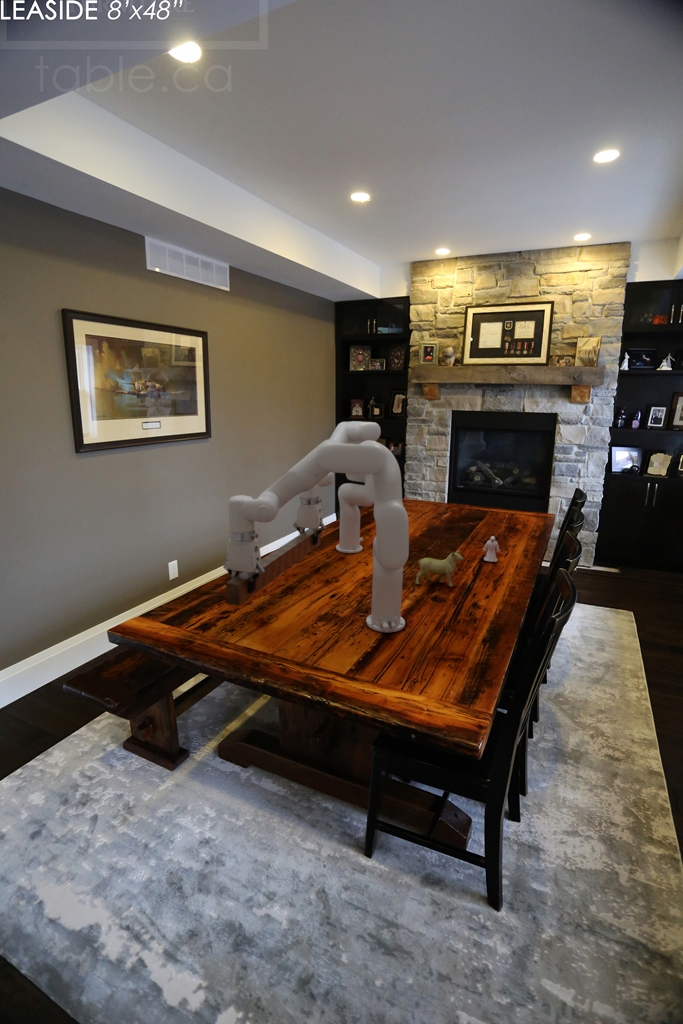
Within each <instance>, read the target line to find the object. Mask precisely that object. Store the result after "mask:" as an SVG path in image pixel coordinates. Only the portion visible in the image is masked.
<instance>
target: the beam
mask: <svg viewBox="0 0 683 1024" xmlns="http://www.w3.org/2000/svg"><path fill="white" fill-rule="evenodd" d="M318 529H321V527H319V528H318ZM321 533H322V532H321ZM321 533H320V534H318V543H317V544H316V545H313V536H314V532H313V529H309V528H307V529H305V532H303V533H301V534H298V535H297V536H295V537H294V538H292V539H291V540H289V541H288V542H286V543H285V544H283V545H281V546H280V547H278V548H277V549H275V550H274V551H272V552H271V553H269V554H268V555H266V556H265V557H263V558H261V565H262V567H263V568H264V570H265V572H264V573H263V574H261V575H260V576H259V577H258V578H257V579H256V589H255V591H253V592H252V593H249V591H248V582H249V581H250V580H249V576H248V572H242V571H241V572H239V575H237V576H236V577H234V578H233V579H232V578H231V579H230V580H228V581H227V582H225V586H226V587H225V594H226V597H225V598H226V604H227V605H232V606H237V607H240V606H241V605H243V604H244V603H245V602H247V601H248V600H249V599H250V598H252V597H253V596H254V595H256V594H257V593H258V592H260V591H261V590H262V589H263V588H265V587H267V586H268V585H269V584H270V583H271V582H273V581H274V580H276V579H277V578H278V577H280V576H281V575H282V574H284V572H287V570H288V569H290V568H291V567H292V566H293V565H295V564H297V563H298V562H299V561H300V560H302V559H303V558H304V557H305V556H307V555H308V554H310V553H311V552H312V551H313V550H315V549H316V548H317V547H318V546H320V545H321V544H322V543H321V542H322V537H321V536H322V534H321ZM255 570H256V573H257V572H258V569H255Z"/></svg>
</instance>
